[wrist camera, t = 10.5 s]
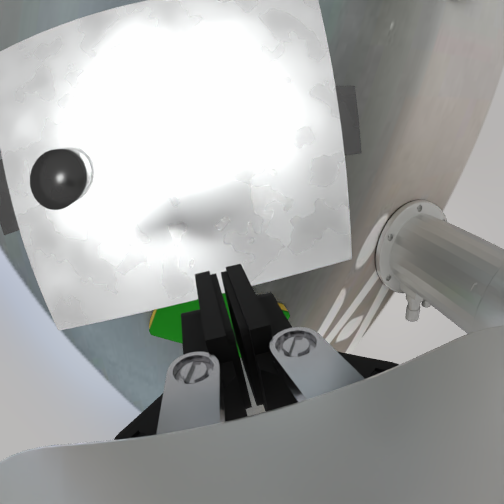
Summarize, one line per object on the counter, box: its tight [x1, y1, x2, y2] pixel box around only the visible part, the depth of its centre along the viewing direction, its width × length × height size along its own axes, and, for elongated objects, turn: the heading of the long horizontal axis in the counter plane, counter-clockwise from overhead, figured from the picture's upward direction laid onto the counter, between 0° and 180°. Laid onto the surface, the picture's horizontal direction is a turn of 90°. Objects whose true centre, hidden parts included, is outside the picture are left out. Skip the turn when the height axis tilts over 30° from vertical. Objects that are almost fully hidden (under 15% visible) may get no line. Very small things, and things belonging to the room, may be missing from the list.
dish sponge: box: [149, 293, 290, 357], centre depth 34 cm, size 7×14×2 cm, turn 64°
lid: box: [0, 0, 352, 330], centre depth 16 cm, size 18×20×3 cm
